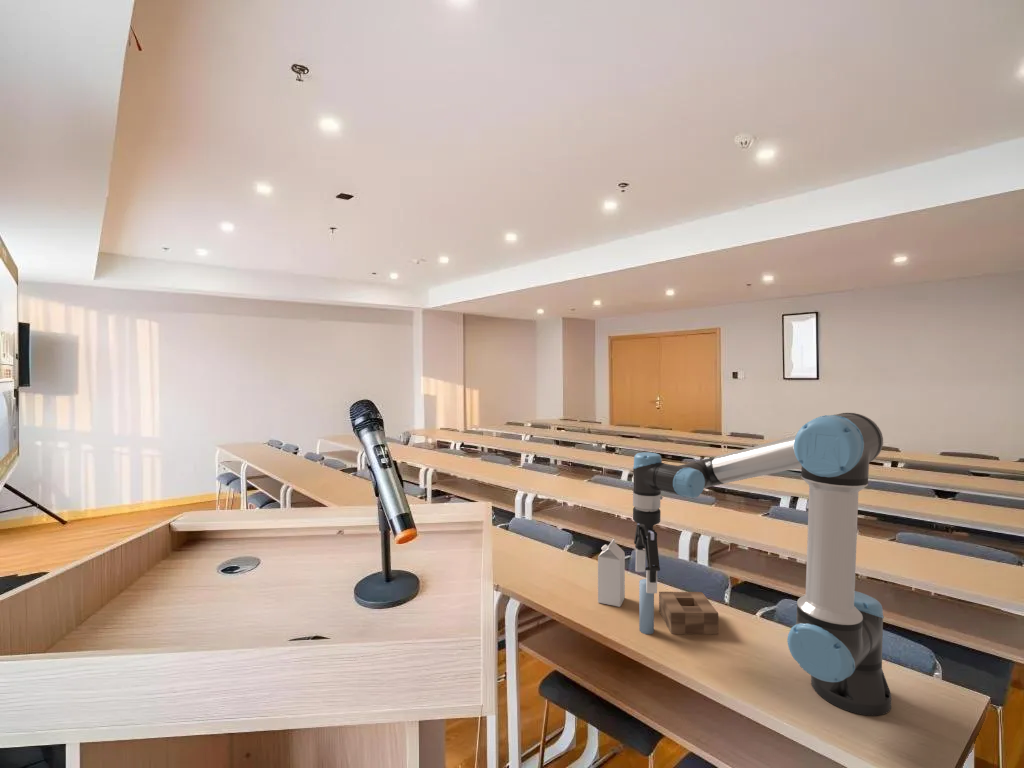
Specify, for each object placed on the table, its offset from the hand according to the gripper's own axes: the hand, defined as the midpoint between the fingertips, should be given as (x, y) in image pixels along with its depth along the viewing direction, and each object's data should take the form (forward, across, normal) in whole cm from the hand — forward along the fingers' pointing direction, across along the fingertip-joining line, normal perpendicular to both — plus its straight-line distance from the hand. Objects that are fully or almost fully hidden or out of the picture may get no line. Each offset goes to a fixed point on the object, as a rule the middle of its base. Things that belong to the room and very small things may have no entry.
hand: (645, 581), depth 140 cm
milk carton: (+14, +18, +7) cm, 24 cm away
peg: (+14, 0, 0) cm, 14 cm away
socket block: (+14, +5, -13) cm, 20 cm away
